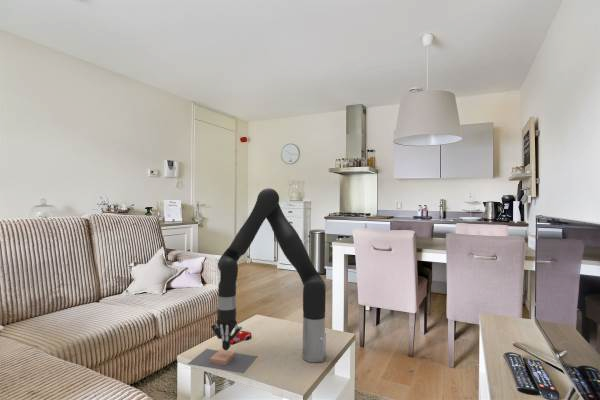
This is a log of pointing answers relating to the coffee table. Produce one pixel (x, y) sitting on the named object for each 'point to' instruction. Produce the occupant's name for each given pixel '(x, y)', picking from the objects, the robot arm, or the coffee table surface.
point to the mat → (236, 365)
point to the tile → (222, 357)
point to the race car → (241, 337)
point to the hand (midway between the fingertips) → (226, 349)
